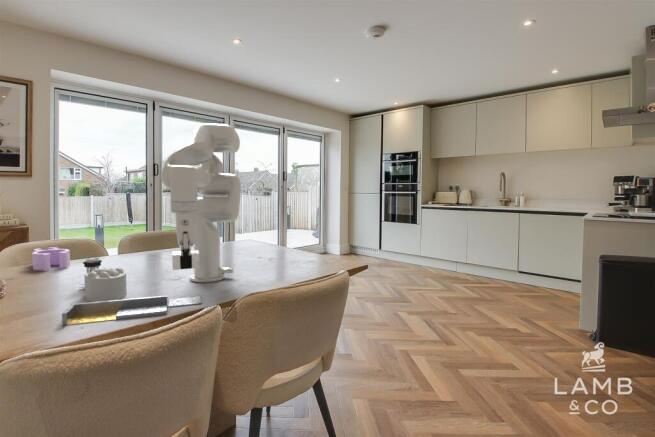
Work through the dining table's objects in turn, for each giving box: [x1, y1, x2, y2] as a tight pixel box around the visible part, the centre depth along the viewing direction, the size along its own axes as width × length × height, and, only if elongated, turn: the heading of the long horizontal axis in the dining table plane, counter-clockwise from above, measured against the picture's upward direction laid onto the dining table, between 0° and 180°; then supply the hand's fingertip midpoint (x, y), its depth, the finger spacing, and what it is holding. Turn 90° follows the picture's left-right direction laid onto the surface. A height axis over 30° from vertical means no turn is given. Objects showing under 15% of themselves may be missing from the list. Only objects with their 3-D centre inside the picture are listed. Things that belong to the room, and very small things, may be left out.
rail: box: [61, 295, 168, 326], centre depth 94 cm, size 24×8×3 cm, turn 113°
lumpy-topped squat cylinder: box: [83, 266, 128, 302], centre depth 110 cm, size 10×13×9 cm
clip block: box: [171, 250, 200, 271], centre depth 106 cm, size 8×4×4 cm, turn 113°
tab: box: [168, 295, 202, 308], centre depth 106 cm, size 9×7×1 cm
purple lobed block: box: [31, 246, 71, 272], centre depth 150 cm, size 20×12×7 cm, turn 50°
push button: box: [79, 257, 103, 289], centre depth 119 cm, size 7×5×10 cm
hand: (186, 265), depth 106 cm, fingers closed on clip block, 4 cm apart
